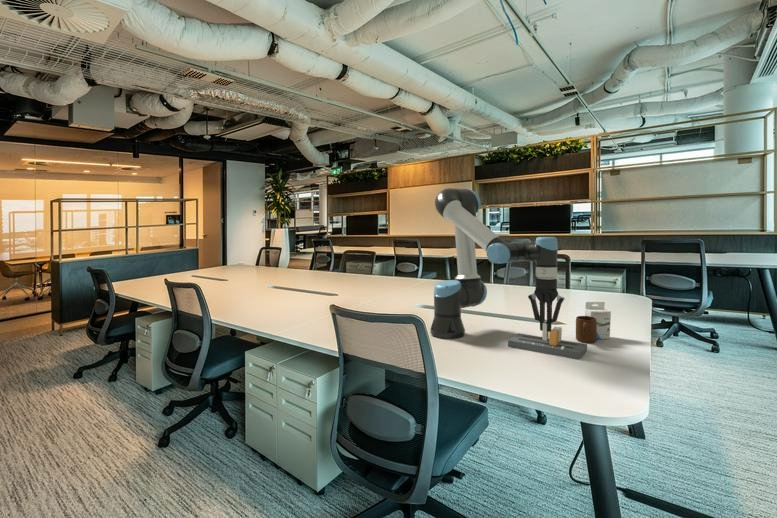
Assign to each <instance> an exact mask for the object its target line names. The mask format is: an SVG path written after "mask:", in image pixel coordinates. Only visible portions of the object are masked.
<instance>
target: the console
mask: <svg viewBox="0 0 777 518" xmlns="http://www.w3.org/2000/svg"><path fill="white" fill-rule="evenodd" d="M542 337H543V336H538V335H532V334H527V333H526V334H525V333H520V332H519V333H516V334H515V335H514V336H512V337H511V338H509V339H507V347H509V348H514V349H519V350H526V351H531V352H536V353H541V354H548V355H553V356H559V357H563V358H569V359H575V360H581V358H583V356H584V355H585V354H586V353H587V351H588V343H584V342H578V341H577V342H576V341H571V340H570V341H569V340H564V339H561V341H560V342H558V344H557V345H556V346H554V345H549V339H548V340H547V341H546V340H542Z"/></svg>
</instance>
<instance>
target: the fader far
mask: <svg viewBox="0 0 777 518" xmlns="http://www.w3.org/2000/svg"><path fill="white" fill-rule="evenodd" d="M562 328H563V327H562V326H561V327H560V326H554V327H553V328H552V330H559V342H560V341H561V340H562V335H563V333H562V332H563V331H562Z"/></svg>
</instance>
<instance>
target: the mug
mask: <svg viewBox="0 0 777 518" xmlns="http://www.w3.org/2000/svg"><path fill="white" fill-rule="evenodd" d="M596 335H597V321H596V318H594V317H591V316H585V315H578V316H576V318H575V340H576V341H577V342H579V343H584V344H593V343H595V342H597V339H596Z"/></svg>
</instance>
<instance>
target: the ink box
mask: <svg viewBox="0 0 777 518" xmlns="http://www.w3.org/2000/svg"><path fill="white" fill-rule="evenodd" d="M605 306H606V305H605V301H586V302H585V309H584V316H591V317H594V318H596V321H597V335H596V340H597V339H598V340H599V339H600V340H610V339H611V338H610V337H611V336H610V335H611V317H612V312H611V310H608V309H606V308H605Z"/></svg>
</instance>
